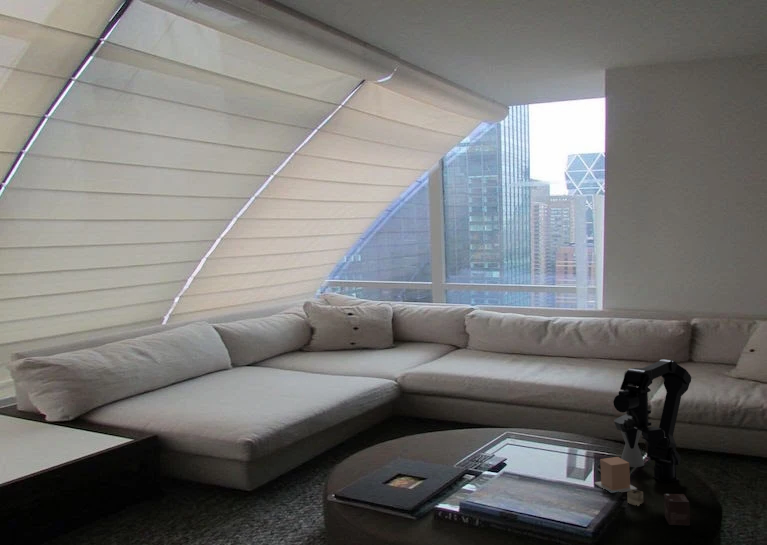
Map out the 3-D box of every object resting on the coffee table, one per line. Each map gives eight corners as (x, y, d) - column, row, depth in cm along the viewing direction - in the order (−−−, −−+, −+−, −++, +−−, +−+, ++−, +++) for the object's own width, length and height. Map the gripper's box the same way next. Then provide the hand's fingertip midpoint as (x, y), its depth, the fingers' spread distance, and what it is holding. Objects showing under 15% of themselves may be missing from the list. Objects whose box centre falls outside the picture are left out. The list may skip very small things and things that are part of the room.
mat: (619, 479, 232) (619, 478, 232) (637, 489, 222) (637, 488, 222) (594, 483, 229) (594, 482, 229) (611, 494, 220) (611, 492, 220)
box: (690, 526, 193) (689, 501, 193) (668, 525, 195) (667, 501, 194) (685, 517, 199) (684, 493, 199) (664, 516, 201) (663, 493, 200)
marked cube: (632, 500, 214) (632, 488, 214) (643, 502, 212) (642, 491, 212) (627, 503, 212) (627, 492, 212) (638, 506, 209) (638, 494, 209)
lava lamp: (629, 457, 254) (626, 367, 252) (650, 463, 246) (647, 371, 245) (614, 462, 249) (611, 371, 248) (634, 469, 242) (631, 374, 240)
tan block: (618, 480, 230) (617, 456, 229) (630, 487, 223) (629, 462, 223) (601, 483, 228) (600, 459, 228) (612, 490, 222) (611, 465, 221)
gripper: (601, 402, 227) (603, 447, 228) (634, 416, 209) (636, 464, 210) (630, 399, 230) (631, 443, 231) (665, 412, 212) (666, 459, 213)
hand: (640, 452), depth 221 cm, fingers open, 9 cm apart
